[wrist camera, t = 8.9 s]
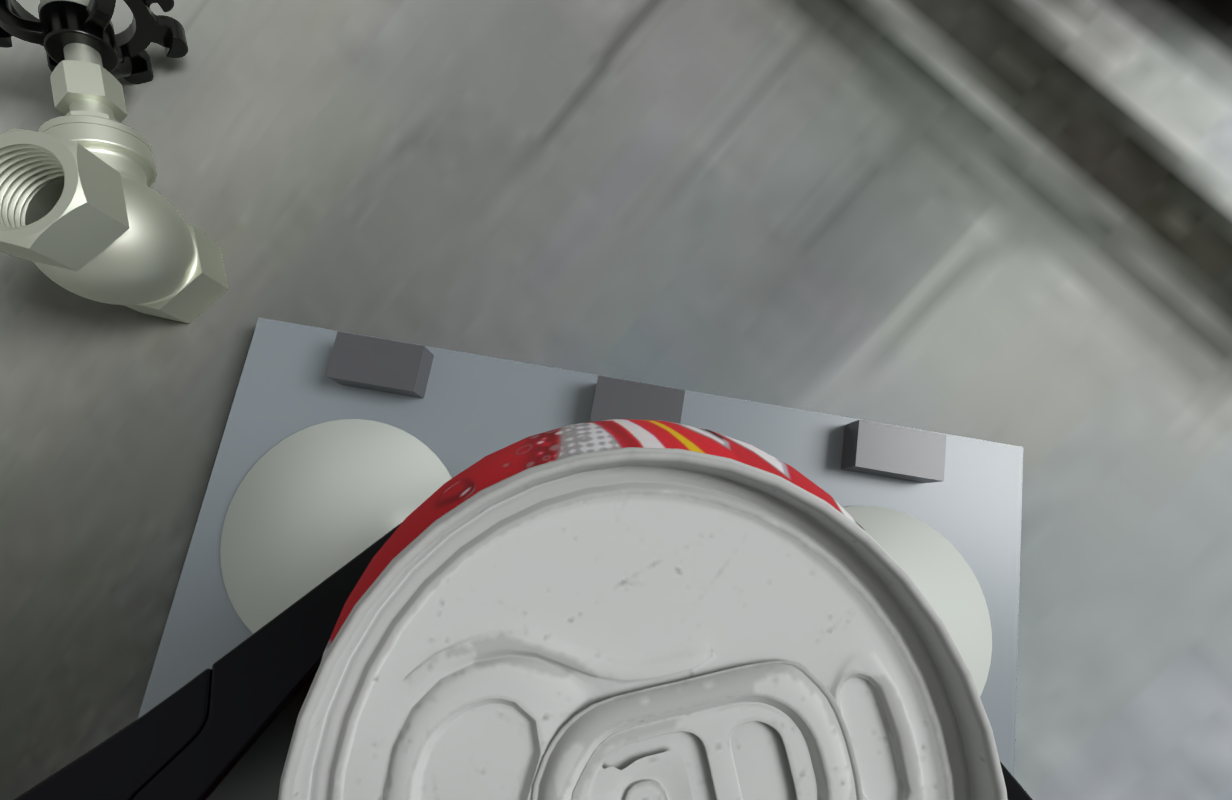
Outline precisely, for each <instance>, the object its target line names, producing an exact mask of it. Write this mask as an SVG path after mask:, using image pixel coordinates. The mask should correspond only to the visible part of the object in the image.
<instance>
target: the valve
mask: <svg viewBox="0 0 1232 800" xmlns="http://www.w3.org/2000/svg"><path fill="white" fill-rule="evenodd" d="M124 1H125V2H126V4H127V5H128V6H129V8H130V9H131V11H132V13H133V15H134V16H133V21H132V23H131V24H130V26H129V27H128V28H127V29H126V30H125V31H123V32H121V33H119V34H116V35H115V34H114V29H113V24H112V22H111V18H112V15H113V12H114V8H115V3H116V0H40V4H39V7H38V13H39V19H40V20H39V19H37V18H36V17H34V16H33V15H32V14H30V13H29V12H28V11H26V10H25V9H24V8H23V7H22V6H21V5H20V4H19V3H18V2H17V1H16V0H0V47H12V42H11V36H15V37H17V38H19V39H22V40H24V41H28V42H31V43H36V44H40V45H42V46H44V48H45V50H46V54H47V61H48V67H49V69H50V70H51V72H52V74H51V76H50V80H51V87H52V94H53V100H54V107H55V109H57V110H58V111H59V112H61V113H62V114H63V115H65V116H60V117H56V118H53V119H50V120H48V121H46V122H45V123H44V124H42V125H41V126H40V128H39V130H38V132H36V131H31V130H25V129H14V128H13V129H10V130H8V131H6V132H3V133H1V134H0V251H2V252H5V253H7V254H9V255H11V256H14V257H16V258H20V259H25V260H29V261H33V263H34V264H35V265H36V266H37V267H38V268H39V269H40V270H41V271H42V272H43V273H44V274H45V275H46V276H47V277H49V278H50V279H51V280H52V281H54V282H55V283H56V284H58V285H60V286H61V287H63V288H65V289H66V290H68V291H70V292H72V293H74V294H77V295H79V296H81V297H84V298H87V299H90V300H93V301H97V302H102V303H107V304H115V305H124V306H126V307H129V308H131V309H133V310H135V311H138V312H140V313H144V314H148V315H152V316H157V317H161V318H165V319H170V320H174V321H179V322H183V323H188V324H189V323H190V322H192V321H193V320H195V319H196V318H197V317H198V316H199V315H200V314H201V313H203V312H204V311H205V310H206V309H207V308H208V307H209V306H211V305H212V304H213V303H214V302H215V301H216V300H217V299H219V298H220V297H221V296H222V295H223V294H224V293H225V292H226V291H227V290H228V281H227V276H226V271H225V266H224V261H223V256H222V252H221V248H220V245H219V244H218V243H217V242H215V241H214V240H213V239H211V238H210V237H208V236H207V235H206V234H204V233H203V232H201V231H200V230H199V229H197V228H196V227H194V226H193V225H188V224H186V222H185V221H184V219H183V218H182V216H181V215H180V213H179V212H178V211H177V210H176V208H175V207H174V206H173V205H172V204H171V203H170V202H169V201H168V200H166V199H165V198H164V197H163V196H161V195H160V194H159V193H158V192H156V191H155V190H153V189H152V188H150V186H151V185H152V184H153V183H154V182H155V179H156V176H157V172H156V167H155V161H154V155H153V150H152V147H151V145H150V143H149V142H148V141H147V140H146V139H145V137H144V136H143V135H141V134H140V133H139V132H137V131H136V130H134V129H132V128H130V127H129V126H127V125H125V124H122V123H121V122H122V121H123V119H124V118H125V117H126V116H127V109H126V104H125V98H124V92H123V87H122V85H121V83H120V82H119V81H118V80H117V79H118V78H122V77H123V78H124V79H125V80H127V81H129V82H132V83H136V84H141V83H145V82H150V81H152V79H153V71H152V66H151V61H150V56H149V54H148V53H147V52H146V51H145V50H144V49H146V48H147V46H148V45H149V44H150V42H154V43H157V44H159V45H161V46H164V47H165V51H166V55H167V57H171V58H180V57H183V56H185V55H186V54H187V52H188V46H187V41H186V36H185V31H184V28H183V26H182V25H181V24H180V23H179V22H178V21H177V20H175V19H173V18H171V17H168V16H164V15H159V16H156V15H155V14H153V13H152V11H151V9H150V5H151V4H152V3H158V4H159V5H160V6H161V8H162V9H163V11H164V12H168V11H170V10H171V9H172V8H173V6H174V0H124Z"/></svg>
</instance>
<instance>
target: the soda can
mask: <svg viewBox="0 0 1232 800" xmlns="http://www.w3.org/2000/svg"><path fill="white" fill-rule="evenodd" d="M278 800H1008V798H1007V789H1006V785H1005V781H1004V777H1003V773H1002V768H1001V764H1000V760H999V756H998V751H997V747H996V743H995V739H994V734H993V730H992V727H991V725H990V722H989V720H988V717H987V714H986V712H985V709H984V706H983V704H982V701H981V699H980V696H979V693H978V691H977V688H976V686H975V683H974V680H973V678H972V675H971V673H970V670H969V668H968V666H967V664H966V663H965V661H964V659H963V657H962V655H961V653H960V652H959V650H958V648H957V646H956V644H955V642H954V641H953V639H952V637H951V635H950V633H949V632H948V630H947V628H946V626H945V624H944V622H943V621H942V619H941V617H940V616H939V615H938V613H937V612H936V611H935V609H934V608H933V607H932V605H931V604H930V602H929V601H928V600H927V598H926V597H925V596H924V594H923V593H922V592H921V590H920V589H919V588H918V586H917V585H916V584H915V582H914V581H913V580H912V578H911V577H910V576H909V574H908V573H907V572H906V571H905V570H904V569H903V568H902V567H901V566H900V565H899V564H898V563H897V562H896V561H895V560H894V559H893V558H892V557H891V556H890V555H889V554H888V553H887V552H886V551H885V550H884V549H883V548H882V547H881V546H880V545H879V544H878V543H877V542H876V541H875V540H874V539H873V538H872V537H871V536H870V535H869V533H867V532H866V531H865V530H864V529H863V528H862V527H861V526H860V525H859V524H858V523H857V522H856V521H855V520H854V519H853V518H852V517H851V516H850V515H849V514H848V513H847V512H846V511H845V510H844V508H843V507H842V506H841V505H840V504H839V503H838V502H837V501H836V500H835V499H834V498H833V497H832V496H831V495H829V494H828V493H827V492H825V491H824V490H823V489H821V488H820V487H819V486H817V485H816V484H815V483H813V482H812V481H811V480H809V479H808V478H807V477H805V476H804V475H803V474H801V473H800V472H799V471H797V470H796V469H795V468H793V467H791V466H790V465H788V464H786V463H784V462H782V461H780V460H778V459H777V458H775V457H773V456H771V455H769V454H767V453H765V452H764V451H762V450H760V449H758V448H756V447H754V446H752V445H750V444H747V443H744V442H742V441H739V440H736V439H733V438H730V437H728V436H725V435H722V434H719V433H716V432H713V431H711V430H708V429H704V428H698V427H693V426H688V425H683V424H678V423H672V422H667V421H662V420H635V419H612V420H603V421H595V422H587V423H579V424H571V425H568V426H564V427H561V428H557V429H554V430H550V431H547V432H543V433H540V434H536V435H533V436H529V437H527V438H524V439H522V440H520V441H518V442H516V443H513V444H511V445H509V446H507V447H505V448H503V449H500V450H498V451H496V452H494V453H492V454H489V455H487V456H485V457H484V458H482V459H481V460H479V461H478V462H476V463H475V464H473V465H472V466H470V467H469V468H467V469H466V470H464V471H462V472H461V473H459V474H458V475H456V476H455V477H453V478H452V479H450V480H449V481H447V482H446V483H445V484H443V485H442V486H441V487H440V488H439V489H438V490H437V491H436V492H434V493H433V494H432V495H431V496H430V497H429V498H428V499H427V500H425V501H424V502H423V503H422V504H421V505H420V506H419V507H418V508H417V509H415V510H414V511H413V512H412V513H411V514H410V515H409V516H408V517H406V519H405V520H404V521H403V522H402V523H401V525H400V526H399V527H398V528H397V529H396V531H395V532H394V533H393V534H392V535H391V537H390V538H389V539H388V540H387V541H386V542H385V544H384V545H383V546H382V547H381V548H380V550H379V551H378V552H377V553H376V554H375V556H374V557H373V558H372V560H371V562H370V563H369V565H368V566H367V568H366V570H365V571H364V573H363V575H362V576H361V578H360V579H359V581H358V583H357V584H356V586H355V588H354V589H353V591H352V592H351V594H350V596H349V597H348V599H347V601H346V602H345V604H344V607H343V609H342V611H341V614H340V616H339V618H338V620H337V623H336V625H335V627H334V630H333V632H332V634H331V637H330V639H329V641H328V644H327V646H326V648H325V651H324V653H323V657H322V660H321V663H320V666H319V668H318V670H317V673H316V675H315V677H314V680H313V682H312V684H311V686H310V689H309V691H308V693H307V696H306V698H305V700H304V703H303V705H302V707H301V710H300V712H299V714H298V717H297V721H296V725H295V728H294V732H293V736H292V739H291V743H290V746H289V750H288V754H287V757H286V761H285V765H284V768H283V772H282V776H281V780H280V787H279V795H278Z"/></svg>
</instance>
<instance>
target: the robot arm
mask: <svg viewBox="0 0 1232 800" xmlns="http://www.w3.org/2000/svg"><path fill="white" fill-rule="evenodd" d="M400 525H401V523H400V524H399V525H397V526H396V527H395V528H393V529H392V530H391V531H389V532H388V533H387V534H385V535H384V536H383V537H381V538H380V539H379V540H377V541H376V542H375V543H373V544H372V545H371V546H369V547H368V548H367V549H365V550H364V551H363V552H361V553H360V554H359V555H357V556H356V557H355V558H353V559H352V560H351V561H349V562H348V563H347V564H345V565H344V566H343V567H341V568H340V569H339V570H337V571H336V572H335V573H333V574H332V575H331V576H329V577H328V578H327V579H325V580H324V581H323V582H321V583H320V584H319V585H317V586H316V587H315V588H313V589H312V590H311V591H309V592H308V593H307V594H305V595H304V596H303V597H301V598H300V599H299V600H298V601H296V602H295V603H294V604H292V605H291V606H290V607H288V608H287V609H286V610H284V611H283V612H282V613H280V614H279V615H278V616H276V617H275V618H274V619H272V620H271V621H270V622H268V623H267V624H266V625H264V626H263V627H262V628H260V629H259V630H258V631H256V632H255V633H254V634H252V635H251V636H250V637H248V638H247V639H246V640H244V641H243V642H242V643H240V644H239V645H238V646H236V647H235V648H234V649H232V650H231V651H230V652H228V653H227V654H226V655H224V656H223V657H222V658H220V659H219V660H218V661H216V662H215V663H214V664H213V665H212V669H211V668H207V669H205V670H204V671H203V672H201V673H200V674H199V675H197V676H196V677H195V678H193V679H192V680H191V681H190V682H188V683H187V684H186V685H184V686H183V687H181V688H180V689H179V690H177V691H176V692H175V693H173V694H172V695H170V696H169V697H168V698H166V699H165V700H163V701H162V702H161V703H159V704H158V705H157V706H155V707H154V708H152V709H151V710H150V711H148V712H147V713H145V714H144V715H143V716H141V717H140V718H138V719H137V720H135V721H134V722H132V723H131V724H129V725H128V726H126V727H125V728H123V729H122V730H120V731H119V732H117V733H116V734H114V735H113V736H111V737H110V738H108V739H107V740H105V741H104V742H102V743H101V744H99V745H98V746H96V747H95V748H93V749H92V750H90V751H89V752H87V753H85V754H84V755H82V756H81V757H79V758H78V759H76V760H75V761H73V762H72V763H70V764H68V765H67V766H65V767H64V768H62V769H61V770H59V771H58V772H56V773H54V774H53V775H51V776H50V777H48V778H47V779H45V780H44V781H42V782H40V783H39V784H37V785H36V786H34V787H33V788H31V789H30V790H28V791H27V792H25V793H23V794H22V795H20V796H19V797H17V798H16V799H14V800H278V795H279V787H280V780H281V776H282V772H283V768H284V765H285V761H286V757H287V754H288V750H289V746H290V743H291V739H292V736H293V732H294V728H295V725H296V721H297V717H298V714H299V712H300V710H301V707H302V705H303V703H304V700H305V698H306V696H307V693H308V691H309V689H310V686H311V684H312V682H313V680H314V677H315V675H316V673H317V670H318V668H319V666H320V663H321V660H322V657H323V653H324V651H325V648H326V646H327V644H328V641H329V639H330V637H331V634H332V632H333V630H334V627H335V625H336V623H337V620H338V618H339V616H340V614H341V611H342V609H343V607H344V604H345V602H346V601H347V599H348V597H349V596H350V594H351V592H352V591H353V589H354V588H355V586H356V584H357V583H358V581H359V579H360V578H361V576H362V575H363V573H364V571H365V570H366V568H367V566H368V565H369V563H370V562H371V560H372V558H373V557H374V556H375V554H376V553H377V552H378V551H379V550H380V548H381V547H382V546H383V545H384V544H385V542H386V541H387V540H388V539H389V538H390V537H391V535H392V534H393V533H394V532H395V531H396V529H397V528H398V527H399V526H400ZM1000 764H1001V768H1002V773H1003V777H1004V781H1005V785H1006V789H1007V798H1008V800H1032V798H1031V797H1030V796H1029V795H1028V794H1027V792H1026V791H1025V790H1024V789H1023V788H1022V786H1021V785H1020V784H1019V783H1018V782H1017V780H1016V779H1015V778H1014V777H1013V776H1012V774H1011V773H1010V772H1009V771H1008V770H1007V768H1006V767H1005V766H1004V765H1003V764H1002V762H1001V761H1000Z"/></svg>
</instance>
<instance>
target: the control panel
mask: <svg viewBox="0 0 1232 800" xmlns="http://www.w3.org/2000/svg"><path fill="white" fill-rule="evenodd" d="M612 419H635V420H662V421H667V422H672V423H678V424H683V425H688V426H693V427H698V428H704V429H708V430H711V431H713V432H716V433H719V434H722V435H725V436H728V437H730V438H733V439H736V440H739V441H742V442H744V443H747V444H750V445H752V446H754V447H756V448H758V449H760V450H762V451H764V452H765V453H767V454H769V455H771V456H773V457H775V458H777V459H778V460H780V461H782V462H784V463H786V464H788V465H790V466H791V467H793V468H795V469H796V470H797V471H799V472H800V473H801V474H803V475H804V476H805V477H807V478H808V479H809V480H811V481H812V482H813V483H815V484H816V485H817V486H819V487H820V488H821V489H823V490H824V491H825V492H827V493H828V494H829V495H831V496H832V497H833V498H834V499H835V500H836V501H837V502H838V503H839V504H840V505H841V506H842V507H843V508H844V510H845V511H846V512H847V513H848V514H849V515H850V516H851V517H852V518H853V519H854V520H855V521H856V522H857V523H858V524H859V525H860V526H861V527H862V528H863V529H864V530H865V531H866V532H867V533H869V535H870V536H871V537H872V538H873V539H874V540H875V541H876V542H877V543H878V544H879V545H880V546H881V547H882V548H883V549H884V550H885V551H886V552H887V553H888V554H889V555H890V556H891V557H892V558H893V559H894V560H895V561H896V562H897V563H898V564H899V565H900V566H901V567H902V568H903V569H904V570H905V571H906V572H907V573H908V574H909V576H910V577H911V578H912V580H913V581H914V582H915V584H916V585H917V586H918V588H919V589H920V590H921V592H922V593H923V594H924V596H925V597H926V598H927V600H928V601H929V602H930V604H931V605H932V607H933V608H934V609H935V611H936V612H937V613H938V615H939V616H940V617H941V619H942V621H943V622H944V624H945V626H946V628H947V630H948V632H949V633H950V635H951V637H952V639H953V641H954V642H955V644H956V646H957V648H958V650H959V652H960V653H961V655H962V657H963V659H964V661H965V663H966V664H967V666H968V668H969V670H970V673H971V675H972V678H973V680H974V683H975V686H976V688H977V691H978V693H979V696H980V699H981V701H982V704H983V706H984V709H985V712H986V714H987V717H988V720H989V722H990V725H991V727H992V730H993V734H994V739H995V743H996V747H997V751H998V756H999V760H1000V761H1001V762H1002V764H1003V765H1004V766H1005V767H1006V768H1007V770H1008V771H1009V772H1010V773H1011V774H1012V776H1013V777H1014V760H1015V724H1016V688H1017V652H1018V616H1019V580H1020V545H1021V509H1022V473H1023V447H1020V446H1014V445H1008V444H1002V443H996V442H991V441H985V440H979V439H973V438H967V437H961V436H955V435H949V434H943V433H937V432H931V431H926V430H920V429H914V428H908V427H902V426H896V425H890V424H884V423H878V422H872V421H867V420H861V419H855V418H849V417H843V416H837V415H831V414H825V413H819V412H813V411H808V410H802V409H796V408H790V407H784V406H778V405H772V404H766V403H760V402H754V401H749V400H743V399H737V398H731V397H725V396H719V395H713V394H707V393H701V392H695V391H689V390H684V389H678V388H672V387H666V386H660V385H654V384H648V383H642V382H636V381H630V380H625V379H619V378H613V377H607V376H601V375H595V374H589V373H583V372H577V371H571V370H566V369H560V368H554V367H548V366H542V365H536V364H530V363H524V362H518V361H512V360H506V359H501V358H495V357H489V356H483V355H477V354H471V353H465V352H459V351H453V350H447V349H442V348H436V347H430V346H424V345H418V344H412V343H406V342H400V341H394V340H388V339H383V338H377V337H371V336H365V335H359V334H353V333H347V332H341V331H335V330H329V329H324V328H318V327H312V326H306V325H300V324H294V323H288V322H282V321H276V320H270V319H264V318H258V322H257V325H256V328H255V332H254V335H253V338H252V341H251V345H250V348H249V351H248V355H247V358H246V361H245V365H244V368H243V371H242V375H241V378H240V381H239V384H238V388H237V391H236V394H235V398H234V401H233V404H232V408H231V411H230V414H229V417H228V421H227V424H226V427H225V431H224V434H223V437H222V441H221V444H220V447H219V450H218V454H217V457H216V460H215V464H214V467H213V470H212V474H211V477H210V480H209V484H208V487H207V490H206V493H205V497H204V500H203V503H202V507H201V510H200V513H199V517H198V520H197V523H196V526H195V530H194V533H193V536H192V540H191V543H190V546H189V550H188V553H187V556H186V560H185V563H184V566H183V569H182V573H181V576H180V579H179V583H178V586H177V589H176V593H175V596H174V599H173V602H172V606H171V609H170V612H169V616H168V619H167V622H166V626H165V629H164V632H163V635H162V639H161V642H160V645H159V649H158V652H157V655H156V659H155V662H154V665H153V669H152V672H151V675H150V678H149V682H148V685H147V688H146V692H145V695H144V698H143V702H142V705H141V708H140V711H139V715H138V718H140V717H141V716H143V715H144V714H145V713H147V712H148V711H150V710H151V709H152V708H154V707H155V706H157V705H158V704H159V703H161V702H162V701H163V700H165V699H166V698H168V697H169V696H170V695H172V694H173V693H175V692H176V691H177V690H179V689H180V688H181V687H183V686H184V685H186V684H187V683H188V682H190V681H191V680H192V679H193V678H195V677H196V676H197V675H199V674H200V673H201V672H203V671H204V670H205V669H207V668H211V669H212V665H213V664H214V663H215V662H216V661H218V660H219V659H220V658H222V657H223V656H224V655H226V654H227V653H228V652H230V651H231V650H232V649H234V648H235V647H236V646H238V645H239V644H240V643H242V642H243V641H244V640H246V639H247V638H248V637H250V636H251V635H252V634H254V633H255V632H256V631H258V630H259V629H260V628H262V627H263V626H264V625H266V624H267V623H268V622H270V621H271V620H272V619H274V618H275V617H276V616H278V615H279V614H280V613H282V612H283V611H284V610H286V609H287V608H288V607H290V606H291V605H292V604H294V603H295V602H296V601H298V600H299V599H300V598H301V597H303V596H304V595H305V594H307V593H308V592H309V591H311V590H312V589H313V588H315V587H316V586H317V585H319V584H320V583H321V582H323V581H324V580H325V579H327V578H328V577H329V576H331V575H332V574H333V573H335V572H336V571H337V570H339V569H340V568H341V567H343V566H344V565H345V564H347V563H348V562H349V561H351V560H352V559H353V558H355V557H356V556H357V555H359V554H360V553H361V552H363V551H364V550H365V549H367V548H368V547H369V546H371V545H372V544H373V543H375V542H376V541H377V540H379V539H380V538H381V537H383V536H384V535H385V534H387V533H388V532H389V531H391V530H392V529H393V528H395V527H396V526H397V525H399V524H400V523H402V522H403V521H404V520H405V519H406V517H408V516H409V515H410V514H411V513H412V512H413V511H414V510H415V509H417V508H418V507H419V506H420V505H421V504H422V503H423V502H424V501H425V500H427V499H428V498H429V497H430V496H431V495H432V494H433V493H434V492H436V491H437V490H438V489H439V488H440V487H441V486H442V485H443V484H445V483H446V482H447V481H449V480H450V479H452V478H453V477H455V476H456V475H458V474H459V473H461V472H462V471H464V470H466V469H467V468H469V467H470V466H472V465H473V464H475V463H476V462H478V461H479V460H481V459H482V458H484V457H485V456H487V455H489V454H492V453H494V452H496V451H498V450H500V449H503V448H505V447H507V446H509V445H511V444H513V443H516V442H518V441H520V440H522V439H524V438H527V437H529V436H533V435H536V434H540V433H543V432H547V431H550V430H554V429H557V428H561V427H564V426H568V425H571V424H579V423H587V422H595V421H603V420H612ZM138 718H137V719H138Z"/></svg>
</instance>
